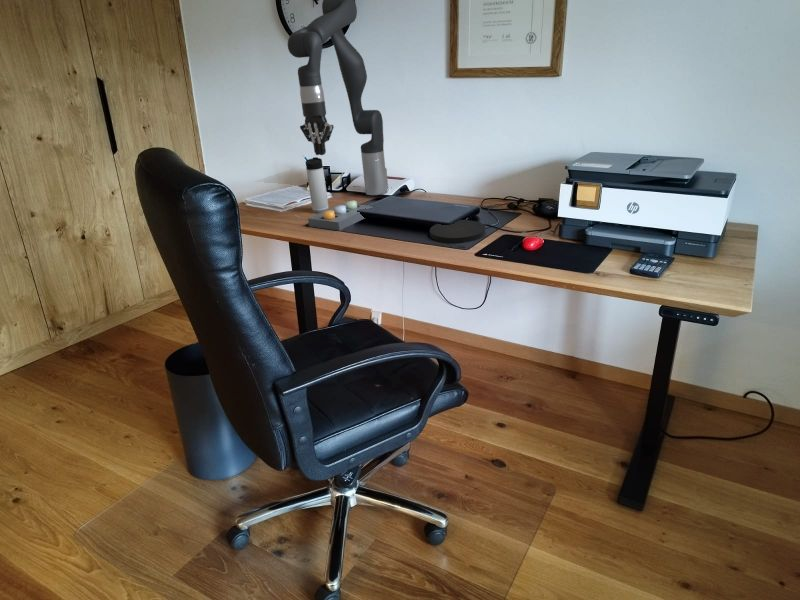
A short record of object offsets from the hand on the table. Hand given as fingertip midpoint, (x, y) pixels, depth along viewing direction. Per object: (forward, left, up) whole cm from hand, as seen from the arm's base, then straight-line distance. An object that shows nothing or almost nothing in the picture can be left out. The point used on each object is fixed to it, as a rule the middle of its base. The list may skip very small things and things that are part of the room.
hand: (320, 154), depth 188 cm
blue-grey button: (-6, 0, -24) cm, 24 cm away
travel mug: (-13, -16, -25) cm, 33 cm away
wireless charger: (-8, +47, -26) cm, 54 cm away
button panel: (-6, 0, -25) cm, 26 cm away
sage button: (-13, 0, -24) cm, 27 cm away
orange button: (0, 0, -24) cm, 24 cm away
